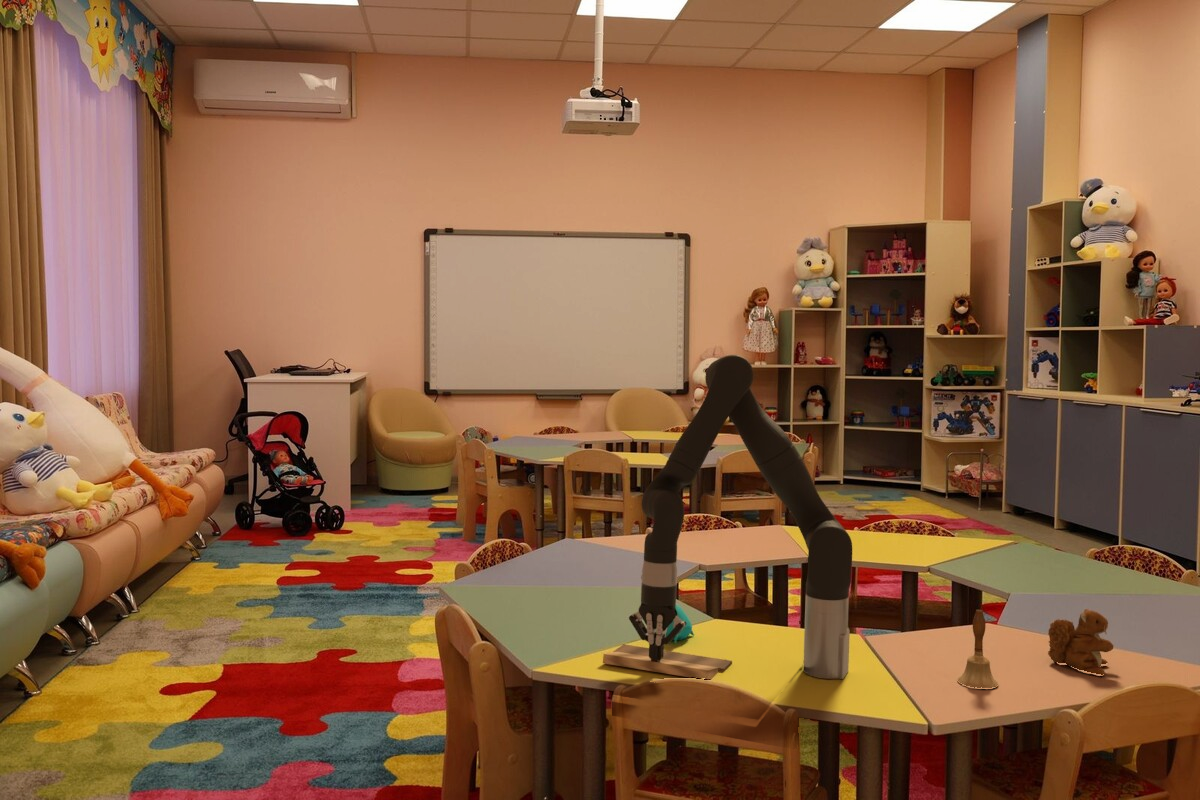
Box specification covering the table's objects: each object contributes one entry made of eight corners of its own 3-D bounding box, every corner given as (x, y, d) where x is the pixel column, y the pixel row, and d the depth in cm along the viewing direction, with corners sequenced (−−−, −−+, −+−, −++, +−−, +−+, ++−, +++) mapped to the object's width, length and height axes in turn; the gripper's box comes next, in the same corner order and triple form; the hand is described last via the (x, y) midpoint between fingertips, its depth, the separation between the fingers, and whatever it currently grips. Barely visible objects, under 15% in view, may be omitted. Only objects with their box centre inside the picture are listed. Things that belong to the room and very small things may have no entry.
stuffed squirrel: (1106, 679, 222) (1109, 619, 221) (1038, 665, 231) (1041, 608, 230) (1116, 667, 230) (1119, 610, 229) (1050, 654, 239) (1053, 599, 238)
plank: (717, 677, 219) (718, 667, 219) (707, 680, 212) (708, 670, 213) (615, 660, 229) (615, 651, 229) (602, 663, 222) (603, 653, 222)
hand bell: (973, 691, 213) (976, 616, 212) (949, 678, 221) (951, 606, 220) (1006, 688, 215) (1010, 614, 214) (981, 675, 223) (984, 604, 222)
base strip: (731, 668, 225) (732, 660, 225) (723, 677, 219) (723, 668, 219) (623, 651, 236) (623, 644, 235) (613, 659, 230) (613, 651, 230)
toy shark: (692, 632, 252) (693, 589, 251) (696, 655, 234) (697, 609, 233) (653, 631, 252) (653, 588, 252) (654, 654, 234) (655, 608, 234)
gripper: (694, 582, 218) (690, 661, 219) (637, 574, 224) (634, 651, 225) (682, 589, 212) (678, 671, 212) (623, 580, 217) (620, 660, 218)
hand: (655, 661), depth 219 cm, fingers closed
